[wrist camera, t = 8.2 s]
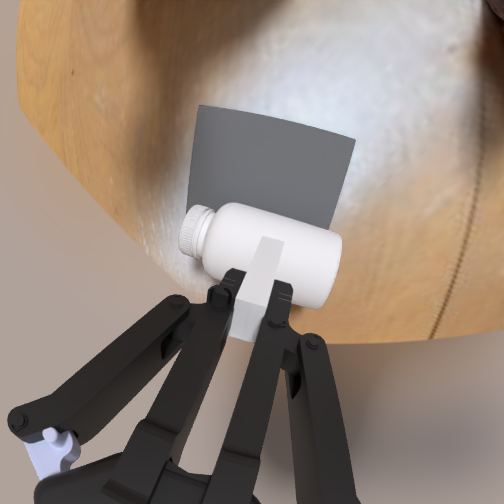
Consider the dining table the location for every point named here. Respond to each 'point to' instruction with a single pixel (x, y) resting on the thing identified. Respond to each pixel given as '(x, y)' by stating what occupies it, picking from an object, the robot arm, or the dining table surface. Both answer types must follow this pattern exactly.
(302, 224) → the pill bottle
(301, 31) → the dining table surface
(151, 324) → the robot arm
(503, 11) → the candle
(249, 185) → the mat
